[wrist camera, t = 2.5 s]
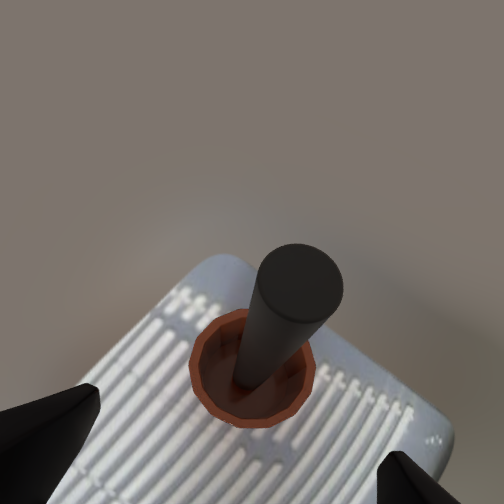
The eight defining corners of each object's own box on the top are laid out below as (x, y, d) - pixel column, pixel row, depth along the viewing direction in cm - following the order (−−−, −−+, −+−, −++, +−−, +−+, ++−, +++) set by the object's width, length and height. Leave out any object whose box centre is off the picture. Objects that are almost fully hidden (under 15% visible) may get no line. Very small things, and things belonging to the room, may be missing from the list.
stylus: (252, 397, 17) (328, 337, 5) (226, 385, 17) (241, 297, 6) (265, 373, 18) (354, 264, 6) (239, 360, 18) (278, 229, 7)
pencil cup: (269, 441, 16) (285, 448, 12) (179, 397, 17) (165, 390, 13) (307, 359, 19) (333, 339, 15) (223, 319, 20) (225, 289, 16)
